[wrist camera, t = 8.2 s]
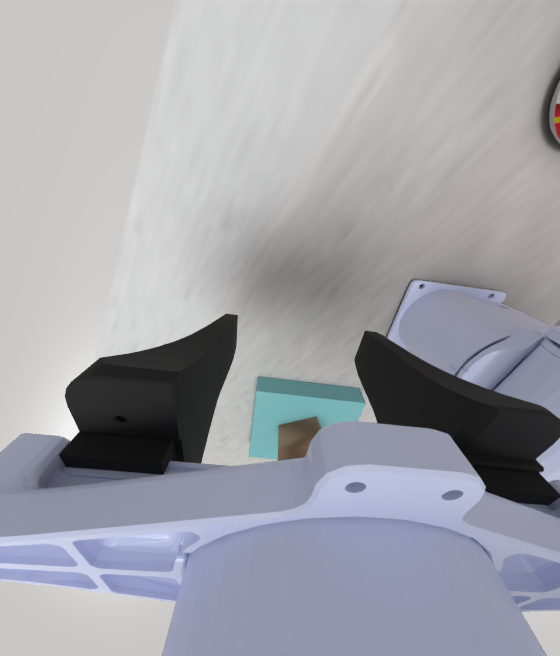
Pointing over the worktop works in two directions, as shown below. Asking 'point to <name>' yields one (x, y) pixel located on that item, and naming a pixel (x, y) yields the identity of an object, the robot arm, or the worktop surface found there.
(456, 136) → the worktop surface
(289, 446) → the walnut cube
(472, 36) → the worktop surface
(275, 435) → the teal box
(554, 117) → the soda can
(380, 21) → the worktop surface
